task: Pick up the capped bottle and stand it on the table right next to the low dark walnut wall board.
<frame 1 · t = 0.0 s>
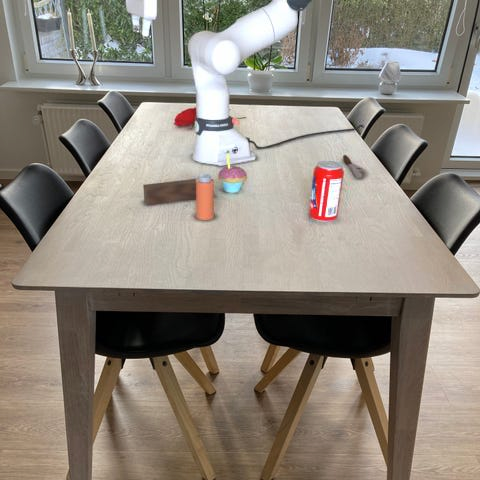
hand: (140, 34, 155), 39 cm above the table, tool pointing down, fingers open, 8 cm apart
capped bottle: (204, 216, 142), on the table
soda can: (322, 218, 144), on the table
cupcake: (231, 190, 160), on the table
flower: (209, 128, 218), on the table
wall: (179, 199, 152), on the table
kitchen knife: (354, 169, 181), on the table
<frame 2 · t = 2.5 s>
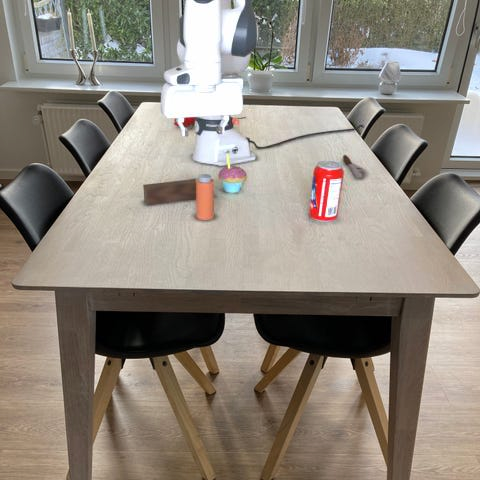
hand: (202, 134, 130), 22 cm above the table, tool pointing down, fingers open, 8 cm apart
nothing on the table moved.
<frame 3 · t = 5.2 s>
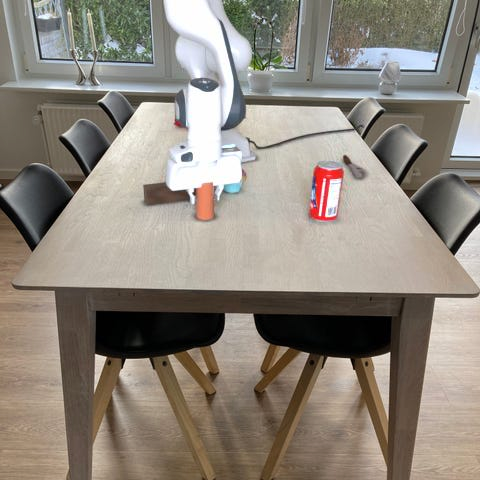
hand: (204, 201, 140), 4 cm above the table, tool pointing down, fingers closed on capped bottle, 5 cm apart
capped bottle: (204, 216, 142), on the table, touching gripper
everything else where it was.
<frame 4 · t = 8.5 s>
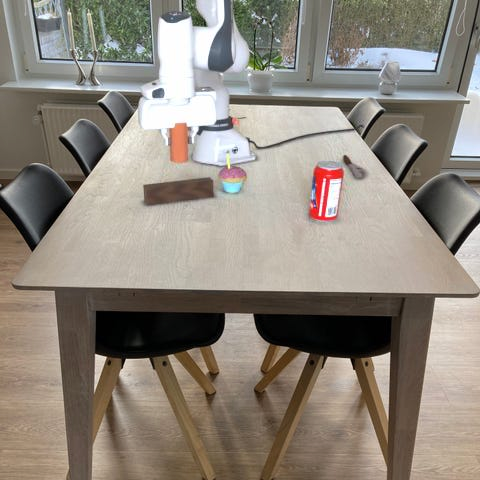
hand: (178, 144, 138), 17 cm above the table, tool pointing down, fingers closed on capped bottle, 5 cm apart
capped bottle: (179, 160, 140), point 13 cm above the table, touching gripper
everything else where it was.
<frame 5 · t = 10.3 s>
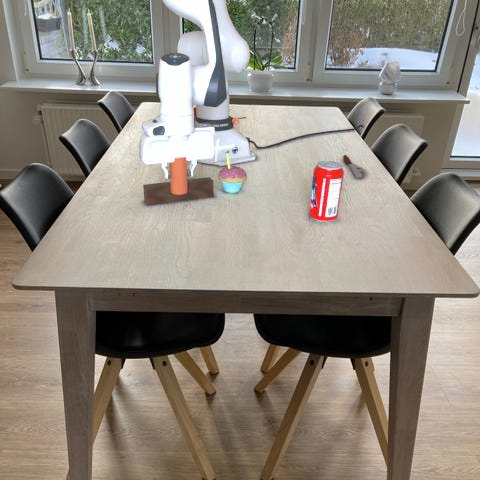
hand: (178, 177, 143), 8 cm above the table, tool pointing down, fingers closed on capped bottle, 5 cm apart
capped bottle: (179, 191, 145), point 4 cm above the table, touching gripper
everything else where it was.
when the fingers open (4 cm above the table, at t = 11.8 s): capped bottle stays where it is, on the table.
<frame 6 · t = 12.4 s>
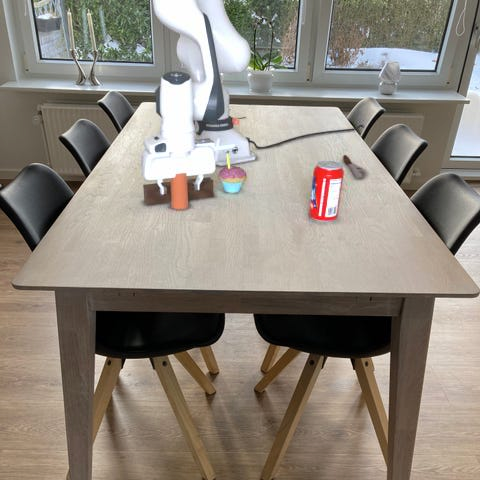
hand: (179, 191, 145), 4 cm above the table, tool pointing down, fingers open, 8 cm apart
capped bottle: (179, 206, 147), on the table
everything else where it was.
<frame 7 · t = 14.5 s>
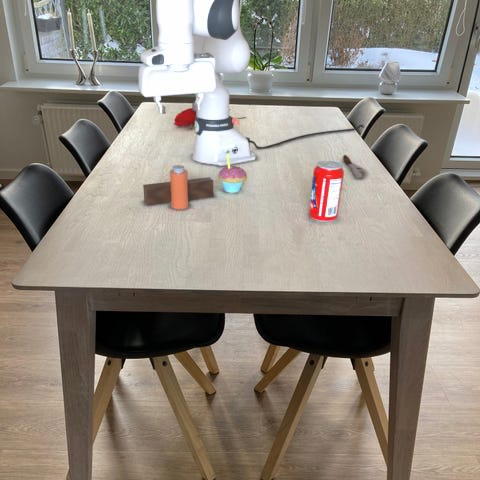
hand: (179, 111, 139), 24 cm above the table, tool pointing down, fingers open, 8 cm apart
nothing on the table moved.
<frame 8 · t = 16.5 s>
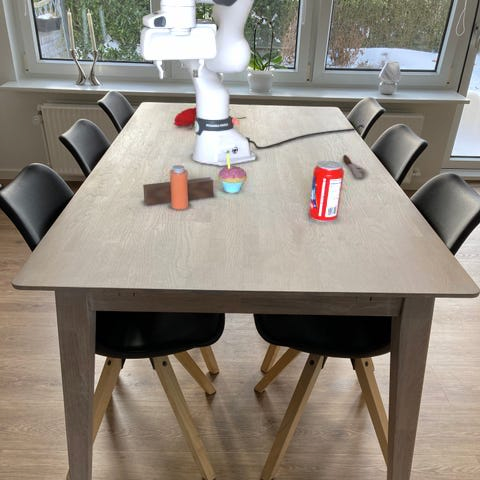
hand: (180, 77, 141), 31 cm above the table, tool pointing down, fingers open, 8 cm apart
nothing on the table moved.
at the end: capped bottle inside the target area on the table beside the wall (1.6 cm from its centre), on the table; capped bottle tilted 0°; the gripper is holding nothing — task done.
